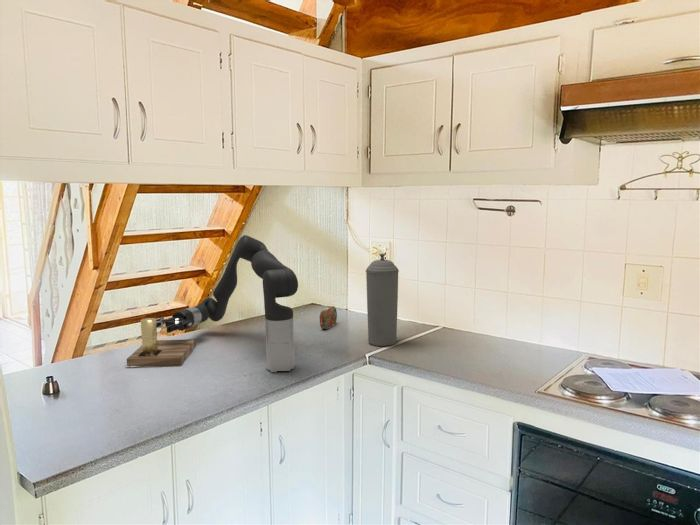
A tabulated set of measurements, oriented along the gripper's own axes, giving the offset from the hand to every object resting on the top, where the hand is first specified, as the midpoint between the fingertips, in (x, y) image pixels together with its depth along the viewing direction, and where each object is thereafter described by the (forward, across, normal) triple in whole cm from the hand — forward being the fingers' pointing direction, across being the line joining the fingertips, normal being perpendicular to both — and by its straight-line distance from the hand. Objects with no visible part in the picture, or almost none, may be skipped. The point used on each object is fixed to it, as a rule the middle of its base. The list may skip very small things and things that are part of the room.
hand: (157, 328), depth 181 cm
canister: (-42, +71, +11) cm, 83 cm away
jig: (-1, +1, +10) cm, 11 cm away
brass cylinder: (+4, 0, +10) cm, 11 cm away
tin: (-59, +41, +11) cm, 73 cm away
